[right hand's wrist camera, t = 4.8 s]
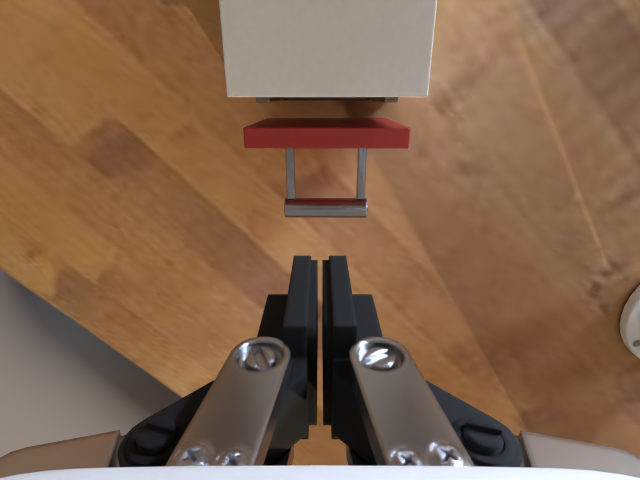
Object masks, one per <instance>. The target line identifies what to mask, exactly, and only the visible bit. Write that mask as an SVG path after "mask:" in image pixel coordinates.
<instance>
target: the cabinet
mask: <svg viewBox="0 0 640 480" xmlns="http://www.w3.org/2000/svg"><path fill="white" fill-rule="evenodd" d="M436 5H437V0H219V9H220V21H221V33H222V45H223V57H224V69H225V81H226V93H227V97H427V96H428V88H429V77H430V67H431V57H432V46H433V36H434V26H435V15H436Z"/></svg>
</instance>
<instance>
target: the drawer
mask: <svg viewBox="0 0 640 480" xmlns="http://www.w3.org/2000/svg"><path fill="white" fill-rule="evenodd" d="M282 100H371V101H380V102H397V101H398V97H256V101H257V102H274V101H282ZM243 130H244V144H245V148H286V176H287V198H285V203H284V211H285V217H332V218H366V216H367V199H366V198H365V177H366V154H367V148H409V139H410V128H409V127H406V126H403V125H401V124H398V123H396V122H393V121H390V120H388V119H385V118H267V119H264V120H262V121H260V122H257V123H255V124H252V125H250V126H247V127H245V128H244V129H243ZM294 148H358V164H357V192H356V197H357V198H295V161H294Z"/></svg>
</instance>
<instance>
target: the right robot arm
mask: <svg viewBox="0 0 640 480" xmlns="http://www.w3.org/2000/svg"><path fill="white" fill-rule="evenodd" d="M620 333H621V337H622V340H623V342H624V344H625V345H626V347H627V348H628V349H629V350H630V351H631V352H632V353H633V354H634V355H635V356H637V357H638V358H639V359H640V285H639V286H638V287H637V289H636V290H635V291H634V292H633V293H632V295H631V296H630V298H629V299H628V301H627V303H626V305H625V306H624V309H623V312H622V315H621V320H620ZM317 343H318V317H317V260H311V256H294V259H293V265H292V272H291V278H290V284H289V290H288V294H269V295H268V297H267V301H266V305H265V309H264V313H263V317H262V320H261V324H260V328H259V332H258V336H257V337H255V338H250V339H248V340H245V341H243V342H241V343H240V344H238V345H237V346H236V347H235V348H234V349H233V350H232V351H231V353H230V355H229V356H228V358H227V360H226V361H225V363H224V365H223V367H222V368H221V370H220V372H219V374H218V375H217V377H216V379H215V380H214V381H212V382H210V383H208V384H207V385H205V386H203V387H201V388H200V389H198V390H196V391H194V392H192V393H191V394H189V395H187V396H185V397H184V398H182V399H180V400H178V401H177V402H175V403H173V404H171V405H170V406H168V407H166V408H164V409H162V410H161V411H159V412H157V413H155V414H153V415H152V416H150V417H148V418H146V419H145V420H143V421H142V422H140V423H139V424H137V425H136V426H134V427H133V428H132V429H131V430H130V431H129V432H128V433H127V434H126V435H124V436H121V434H120V431H119V430H118V431H113V432H108V433H102V434H96V435H91V436H86V437H80V438H75V439H69V440H64V441H58V442H53V443H48V444H42V445H37V446H31V447H26V448H23V449H19V450H16V451H13V452H10V453H8V454H7V455H5V456H3V457H1V458H0V480H640V458H639V457H637V456H635V455H633V454H632V453H630V452H627V451H624V450H621V449H617V448H614V447H609V446H603V445H598V444H592V443H587V442H582V441H576V440H571V439H565V438H560V437H555V436H549V435H544V434H538V433H533V432H527V431H522V430H520V434H519V436H516V435H514V434H513V433H512V432H511V431H510V430H509V429H508V428H507V427H506V426H504V425H503V424H501V423H500V422H498V421H497V420H495V419H494V418H492V417H490V416H488V415H487V414H485V413H483V412H481V411H479V410H478V409H476V408H474V407H472V406H471V405H469V404H467V403H465V402H463V401H462V400H460V399H458V398H456V397H455V396H453V395H451V394H449V393H448V392H446V391H444V390H442V389H440V388H439V387H437V386H435V385H433V384H432V383H430V382H428V381H426V380H425V379H424V377H423V375H422V374H421V372H420V370H419V368H418V367H417V365H416V363H415V361H414V360H413V358H412V356H411V355H410V353H409V351H408V350H407V349H406V348H405V347H404V346H403V345H402V344H400V343H399V342H397V341H395V340H392V339H390V338H385V337H383V336H382V332H381V328H380V324H379V320H378V317H377V313H376V309H375V305H374V301H373V297H372V295H371V294H352V290H351V284H350V278H349V272H348V265H347V259H346V256H329V260H323V316H322V343H323V425H331V433H332V439H340V440H341V441H342V442H344V443H345V444H346V456H347V461H348V465H349V466H332V465H308V466H291V465H292V461H293V456H294V444H295V443H296V442H298V441H299V440H300V439H308V433H309V425H317Z"/></svg>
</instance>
